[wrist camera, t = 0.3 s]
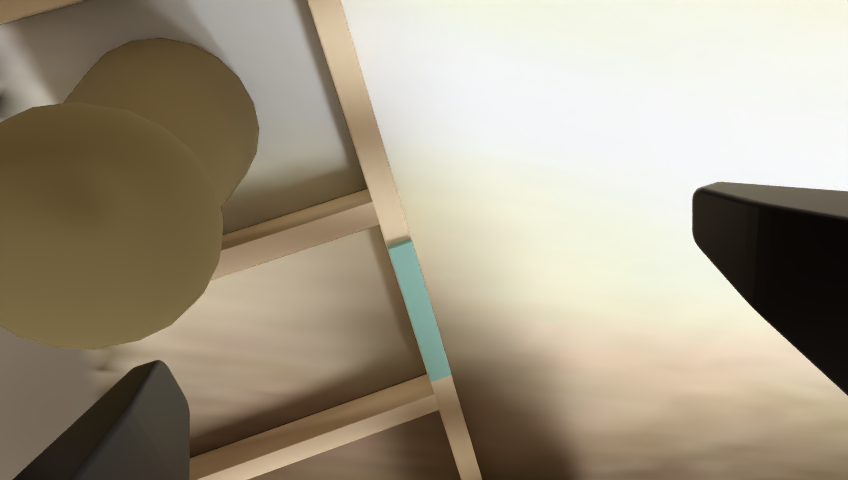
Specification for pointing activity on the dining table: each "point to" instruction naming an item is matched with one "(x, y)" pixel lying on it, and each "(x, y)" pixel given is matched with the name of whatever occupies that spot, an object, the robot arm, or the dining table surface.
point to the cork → (120, 195)
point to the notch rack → (378, 205)
